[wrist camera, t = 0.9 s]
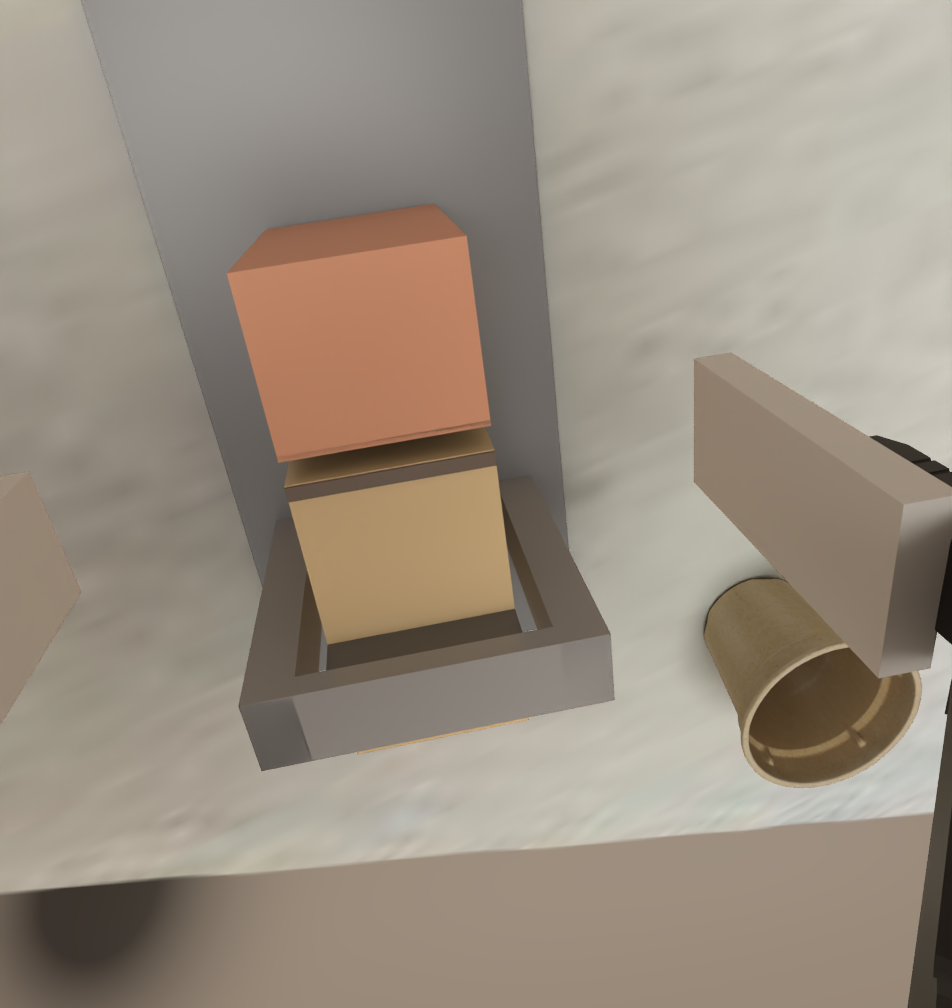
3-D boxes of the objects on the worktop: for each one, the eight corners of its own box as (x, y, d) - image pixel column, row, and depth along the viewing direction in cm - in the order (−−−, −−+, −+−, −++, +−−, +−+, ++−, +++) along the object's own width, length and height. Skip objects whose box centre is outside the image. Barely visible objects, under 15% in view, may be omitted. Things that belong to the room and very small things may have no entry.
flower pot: (858, 578, 45) (960, 670, 38) (772, 697, 49) (850, 804, 41) (731, 531, 42) (813, 620, 35) (649, 660, 46) (708, 768, 38)
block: (299, 370, 34) (278, 462, 24) (265, 229, 31) (226, 273, 22) (454, 344, 34) (491, 425, 25) (433, 203, 32) (466, 235, 22)
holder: (291, 667, 42) (263, 899, 30) (80, -20, 28) (-153, -145, 15) (571, 613, 43) (660, 815, 31) (510, -76, 29) (633, -237, 16)
